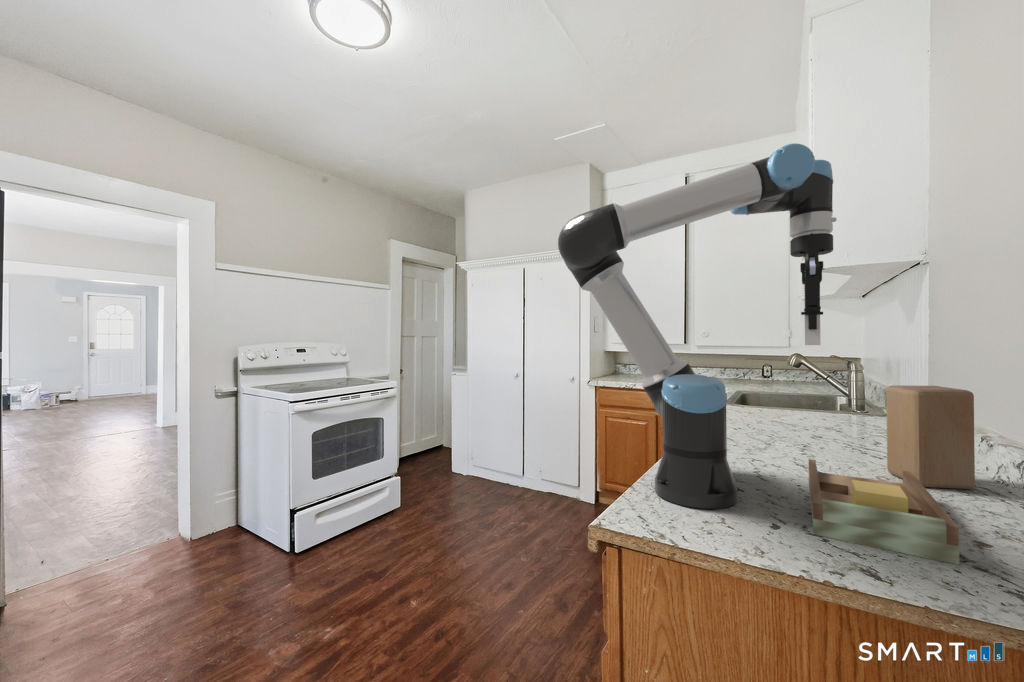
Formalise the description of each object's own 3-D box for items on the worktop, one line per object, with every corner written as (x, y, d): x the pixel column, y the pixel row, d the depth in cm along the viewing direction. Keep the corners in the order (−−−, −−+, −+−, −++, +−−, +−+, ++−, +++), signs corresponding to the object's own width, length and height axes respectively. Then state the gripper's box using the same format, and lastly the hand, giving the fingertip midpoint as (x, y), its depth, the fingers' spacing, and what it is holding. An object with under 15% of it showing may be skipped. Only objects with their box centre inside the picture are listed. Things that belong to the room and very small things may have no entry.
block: (977, 491, 82) (976, 390, 82) (918, 488, 84) (917, 390, 84) (937, 474, 92) (936, 385, 92) (885, 472, 94) (883, 384, 94)
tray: (813, 534, 65) (813, 499, 65) (808, 482, 88) (808, 456, 88) (959, 564, 56) (958, 524, 56) (911, 497, 79) (911, 469, 79)
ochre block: (856, 519, 65) (855, 490, 65) (851, 506, 70) (851, 479, 70) (908, 528, 61) (908, 498, 61) (899, 514, 66) (899, 486, 66)
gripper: (835, 226, 81) (837, 345, 82) (830, 239, 92) (832, 344, 92) (789, 232, 86) (791, 345, 86) (790, 244, 96) (791, 344, 97)
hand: (812, 344), depth 89 cm, fingers closed
